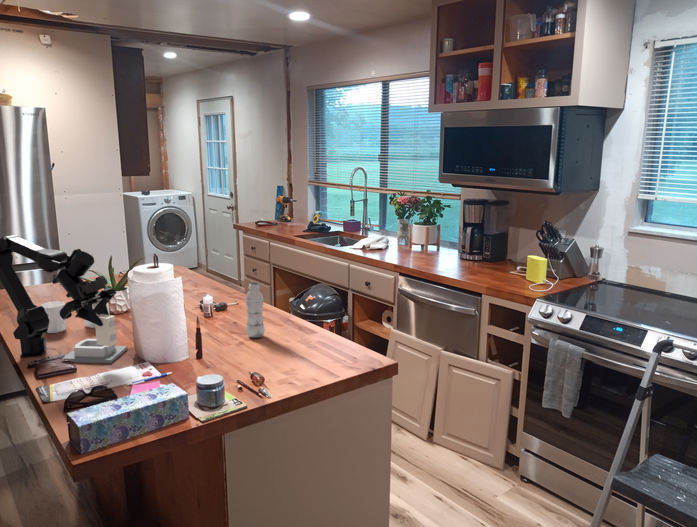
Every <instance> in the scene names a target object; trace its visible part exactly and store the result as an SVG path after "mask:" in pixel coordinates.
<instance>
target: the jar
mask: <svg viewBox="0 0 697 527" xmlns="http://www.w3.org/2000/svg"><path fill="white" fill-rule="evenodd" d="M100 292H101V291H99V292H98V294H99V293H100ZM98 294H96V295H95V296H98ZM106 306H107V310H108V313H109V314H110V307H109V302H108V303H107V304H106ZM92 307H93V305H92ZM93 309H94V307H93ZM97 316H98V315H97ZM83 321H84V322H83V323H84V327H87V328H90V329H95V324H94V323H92V322H89V321H87V320H84V319H83Z"/></svg>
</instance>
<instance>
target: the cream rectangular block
mask: <svg viewBox="0 0 697 527" xmlns="http://www.w3.org/2000/svg"><path fill="white" fill-rule="evenodd" d="M98 317H99V318H100V320H101V321H102V323H103V325H102V326H98V325H96V324H95V328H94V329H95V339H96V342H97V344H98V345H104V346H109V347H110V346H112V345H114V344H115V345H116V344H117V343H118V341H117V331H116V330H117V329H116V315H111V314H109V315H106V314H100V315H98Z"/></svg>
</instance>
